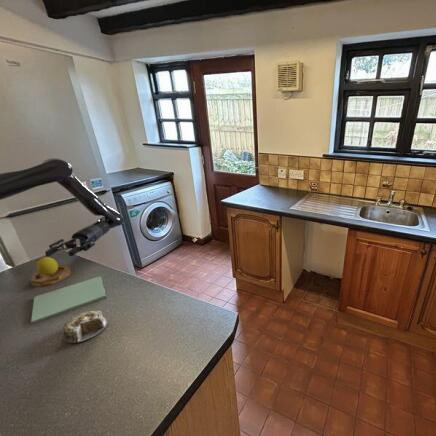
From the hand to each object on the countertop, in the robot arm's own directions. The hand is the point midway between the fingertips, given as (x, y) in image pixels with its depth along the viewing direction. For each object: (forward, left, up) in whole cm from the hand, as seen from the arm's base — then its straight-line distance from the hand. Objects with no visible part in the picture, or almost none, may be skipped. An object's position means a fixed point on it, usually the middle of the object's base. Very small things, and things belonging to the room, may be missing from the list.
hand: (58, 254), depth 95 cm
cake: (+4, -43, -7) cm, 44 cm away
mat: (+1, -23, -7) cm, 24 cm away
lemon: (-4, -4, -6) cm, 8 cm away
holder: (-3, -4, -7) cm, 9 cm away
